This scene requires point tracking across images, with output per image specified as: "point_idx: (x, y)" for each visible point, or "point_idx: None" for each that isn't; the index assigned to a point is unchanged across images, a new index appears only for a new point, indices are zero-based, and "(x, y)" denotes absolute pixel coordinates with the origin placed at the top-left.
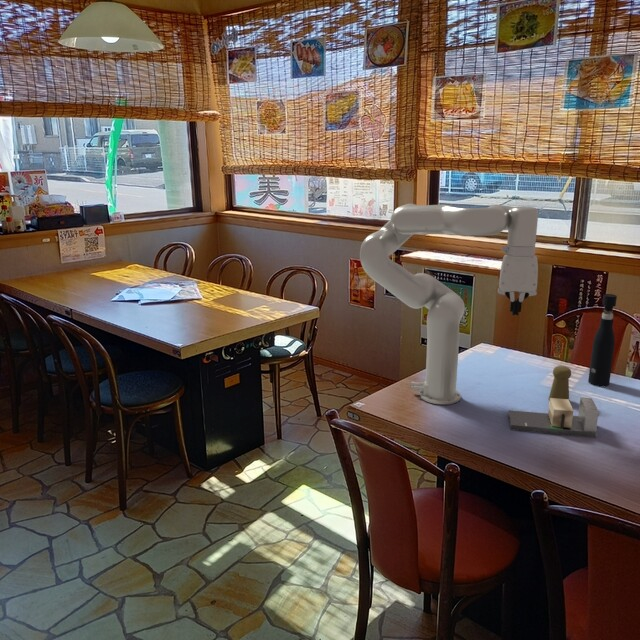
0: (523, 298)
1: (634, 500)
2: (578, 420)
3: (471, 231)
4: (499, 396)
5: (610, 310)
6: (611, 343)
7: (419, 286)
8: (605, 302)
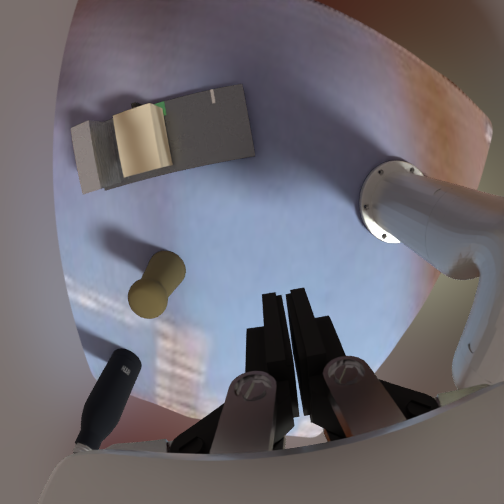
0: (226, 403)
1: None
2: (119, 164)
3: None
4: (282, 248)
5: None
6: (85, 404)
7: None
8: None
